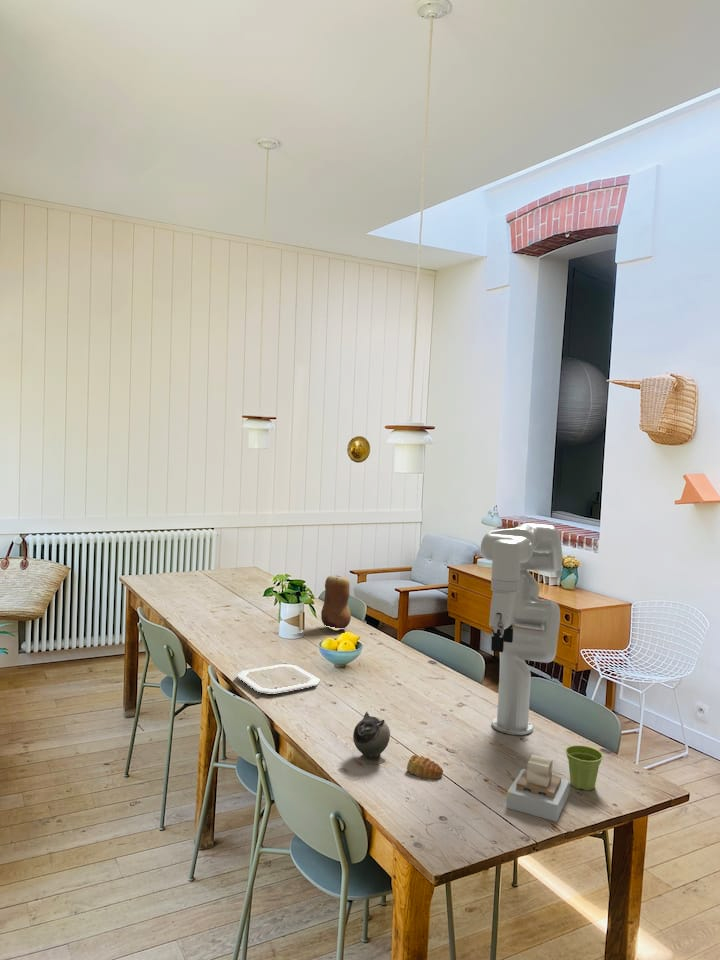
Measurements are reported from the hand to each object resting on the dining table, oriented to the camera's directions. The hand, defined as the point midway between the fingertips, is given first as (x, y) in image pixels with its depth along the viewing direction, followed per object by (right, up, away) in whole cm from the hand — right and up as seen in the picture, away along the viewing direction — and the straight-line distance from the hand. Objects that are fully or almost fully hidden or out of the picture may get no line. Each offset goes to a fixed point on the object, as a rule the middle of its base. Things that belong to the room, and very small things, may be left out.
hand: (502, 646), depth 195 cm
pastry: (-22, -33, -5) cm, 40 cm away
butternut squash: (-50, -23, +130) cm, 141 cm away
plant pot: (+19, -34, -9) cm, 40 cm away
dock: (+5, -34, -19) cm, 39 cm away
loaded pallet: (+5, -30, -19) cm, 36 cm away
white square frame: (-68, -27, +58) cm, 94 cm away
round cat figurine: (-36, -32, +1) cm, 48 cm away
